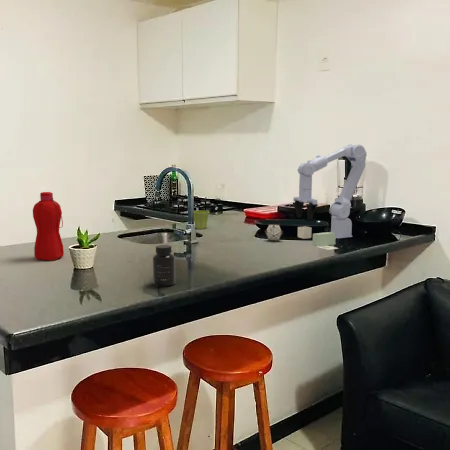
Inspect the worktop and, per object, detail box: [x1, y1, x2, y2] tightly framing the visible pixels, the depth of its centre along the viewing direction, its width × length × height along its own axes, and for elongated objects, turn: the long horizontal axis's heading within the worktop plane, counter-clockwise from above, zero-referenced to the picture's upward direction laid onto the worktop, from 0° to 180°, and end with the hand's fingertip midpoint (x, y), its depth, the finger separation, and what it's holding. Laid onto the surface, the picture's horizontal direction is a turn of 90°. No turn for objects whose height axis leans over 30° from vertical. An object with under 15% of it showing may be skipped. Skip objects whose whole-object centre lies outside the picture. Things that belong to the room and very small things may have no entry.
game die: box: [264, 222, 284, 242], centre depth 230 cm, size 9×8×10 cm
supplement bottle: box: [152, 244, 176, 287], centre depth 158 cm, size 7×7×12 cm
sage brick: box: [312, 231, 336, 246], centre depth 223 cm, size 9×4×5 cm, turn 121°
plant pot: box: [193, 210, 210, 230], centre depth 263 cm, size 9×9×9 cm
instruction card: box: [314, 245, 339, 251], centre depth 217 cm, size 6×8×1 cm
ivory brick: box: [297, 226, 313, 240], centre depth 240 cm, size 4×4×5 cm
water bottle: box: [32, 191, 65, 261], centre depth 190 cm, size 9×11×25 cm
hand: (304, 218), depth 238 cm, fingers open, 7 cm apart
